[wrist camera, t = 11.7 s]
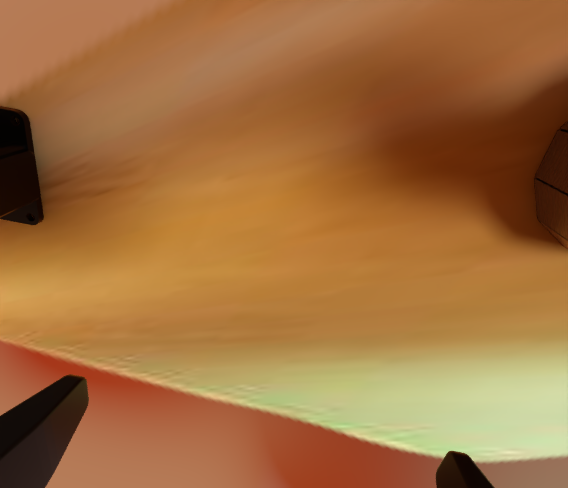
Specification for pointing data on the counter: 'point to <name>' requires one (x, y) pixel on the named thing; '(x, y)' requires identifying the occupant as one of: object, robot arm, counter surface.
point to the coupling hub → (554, 187)
